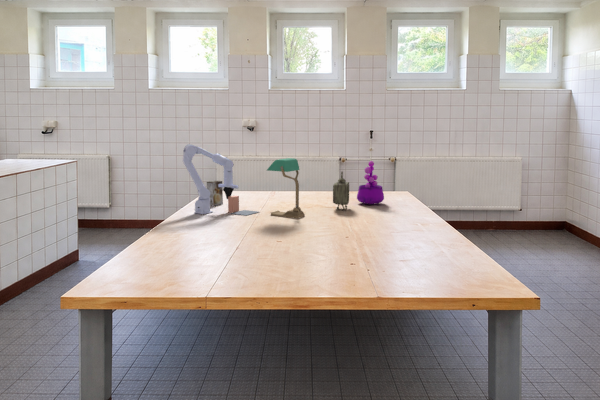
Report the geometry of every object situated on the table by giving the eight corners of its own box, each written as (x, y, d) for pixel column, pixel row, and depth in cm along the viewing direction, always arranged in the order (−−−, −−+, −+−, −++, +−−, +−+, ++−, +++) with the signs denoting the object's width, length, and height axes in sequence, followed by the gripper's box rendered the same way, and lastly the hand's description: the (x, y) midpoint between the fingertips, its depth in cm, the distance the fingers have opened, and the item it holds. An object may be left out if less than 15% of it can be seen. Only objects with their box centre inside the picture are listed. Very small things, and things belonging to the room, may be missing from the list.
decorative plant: (376, 207, 383) (377, 162, 378) (352, 204, 393) (352, 161, 388) (388, 203, 398) (389, 160, 394) (364, 200, 408) (365, 159, 404)
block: (233, 212, 359) (233, 197, 358) (228, 212, 361) (228, 196, 359) (239, 211, 364) (238, 196, 363) (234, 210, 366) (233, 195, 365)
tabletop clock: (346, 211, 366) (347, 172, 362) (332, 210, 368) (332, 172, 364) (349, 207, 380) (349, 170, 376) (335, 207, 382) (336, 170, 378)
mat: (246, 215, 349) (246, 215, 349) (230, 213, 355) (230, 213, 355) (259, 212, 361) (259, 211, 361) (244, 210, 367) (244, 209, 367)
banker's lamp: (294, 219, 338) (294, 160, 332) (265, 216, 348) (265, 159, 343) (307, 215, 351) (307, 158, 346) (279, 212, 362) (279, 157, 356)
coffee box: (216, 203, 396) (216, 180, 393) (223, 204, 392) (222, 181, 389) (206, 204, 389) (206, 181, 386) (213, 205, 385) (213, 182, 382)
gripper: (241, 178, 361) (241, 199, 363) (223, 176, 368) (223, 197, 370) (234, 179, 355) (234, 200, 357) (216, 177, 362) (216, 198, 364)
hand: (228, 199), depth 363 cm, fingers closed
